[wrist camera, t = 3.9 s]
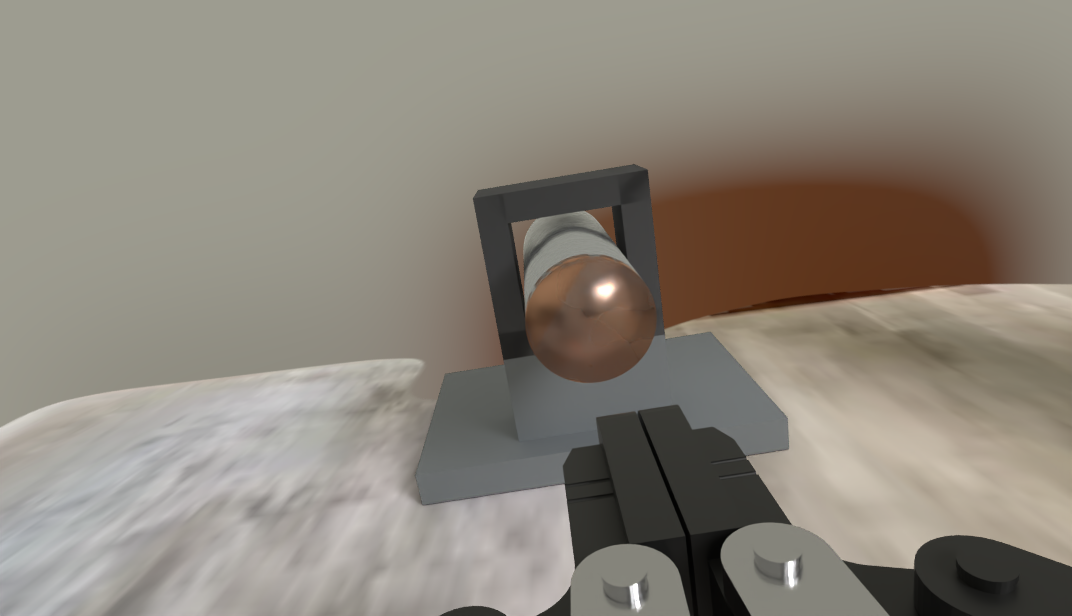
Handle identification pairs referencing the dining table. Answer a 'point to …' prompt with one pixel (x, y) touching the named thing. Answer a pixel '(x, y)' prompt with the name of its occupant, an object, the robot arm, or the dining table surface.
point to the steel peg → (584, 300)
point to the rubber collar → (560, 197)
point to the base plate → (580, 415)
